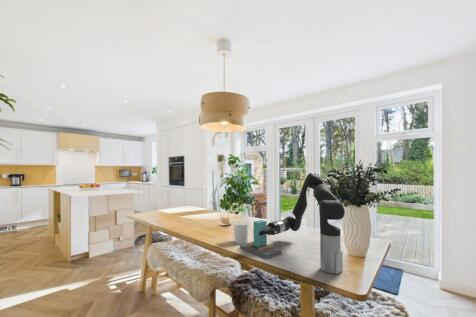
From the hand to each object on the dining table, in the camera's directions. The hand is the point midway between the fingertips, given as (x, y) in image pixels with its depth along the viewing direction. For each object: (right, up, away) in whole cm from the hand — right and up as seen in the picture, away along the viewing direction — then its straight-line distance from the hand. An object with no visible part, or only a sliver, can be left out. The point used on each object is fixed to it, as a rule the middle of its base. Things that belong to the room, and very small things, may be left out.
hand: (256, 232), depth 142 cm
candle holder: (-9, -12, +19) cm, 24 cm away
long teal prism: (+2, -8, +2) cm, 8 cm away
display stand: (+2, -11, +1) cm, 12 cm away
